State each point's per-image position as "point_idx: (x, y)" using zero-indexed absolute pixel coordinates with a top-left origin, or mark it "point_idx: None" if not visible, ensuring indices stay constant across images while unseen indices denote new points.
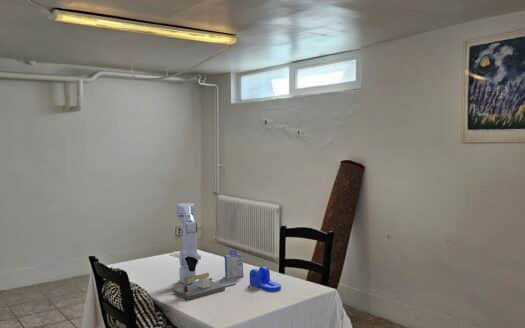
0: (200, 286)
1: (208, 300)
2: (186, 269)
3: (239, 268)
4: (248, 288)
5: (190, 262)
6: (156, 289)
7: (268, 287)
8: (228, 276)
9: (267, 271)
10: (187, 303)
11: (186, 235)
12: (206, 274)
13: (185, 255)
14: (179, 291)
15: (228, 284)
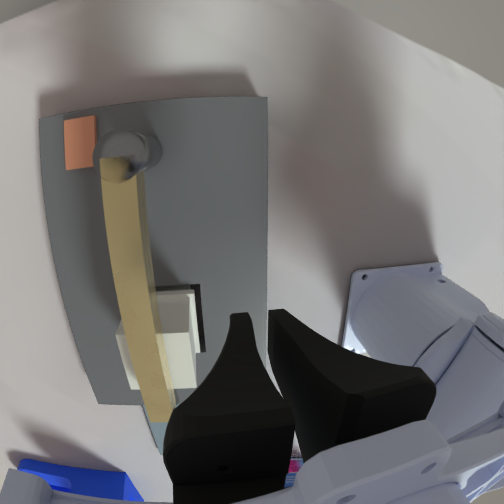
0: (160, 295)
1: None
2: (426, 331)
3: None
4: (78, 449)
5: (202, 390)
6: (412, 75)
7: (23, 468)
8: None
9: None
10: (12, 94)
11: None
12: (146, 399)
13: (349, 473)
14: (181, 106)
15: (163, 433)
